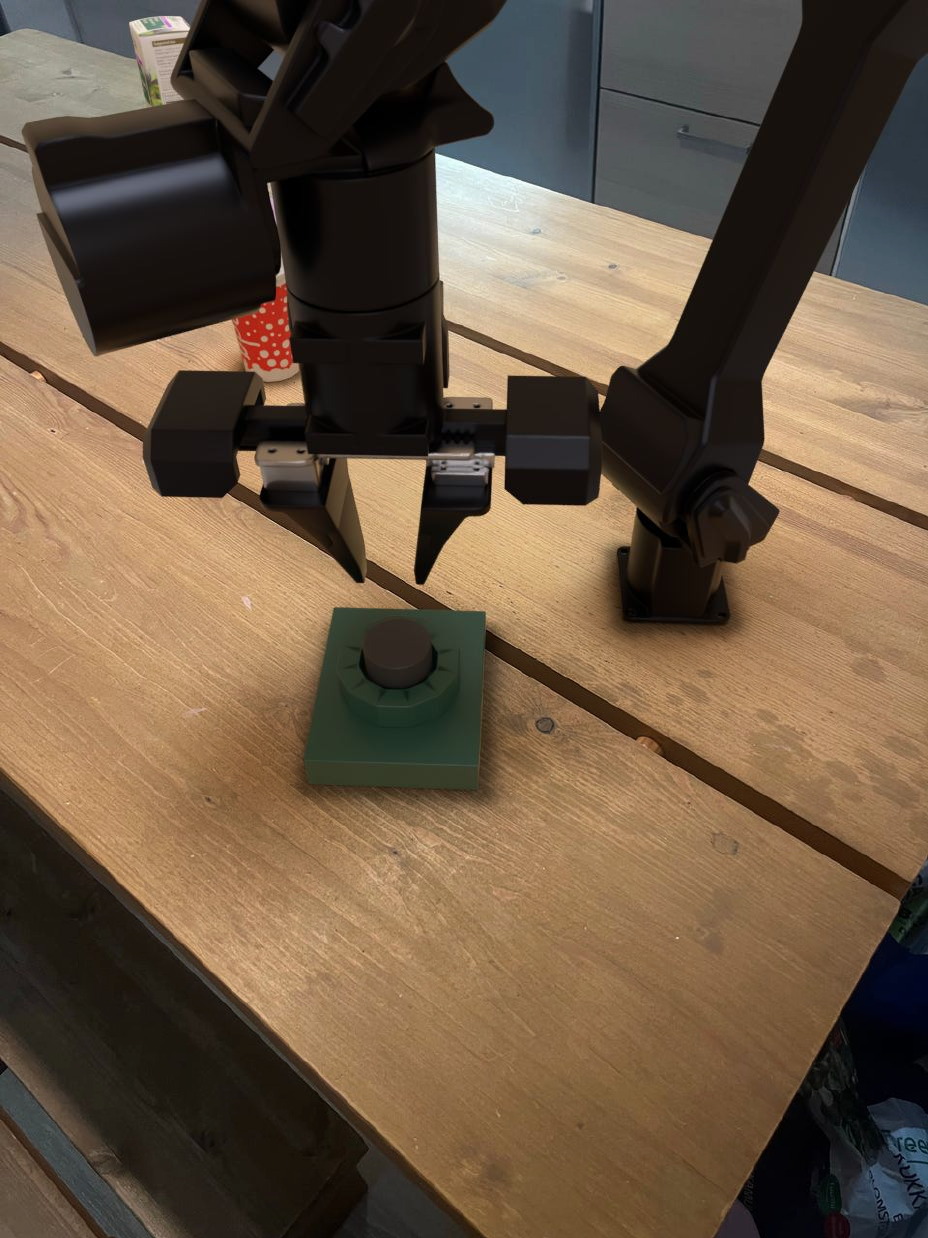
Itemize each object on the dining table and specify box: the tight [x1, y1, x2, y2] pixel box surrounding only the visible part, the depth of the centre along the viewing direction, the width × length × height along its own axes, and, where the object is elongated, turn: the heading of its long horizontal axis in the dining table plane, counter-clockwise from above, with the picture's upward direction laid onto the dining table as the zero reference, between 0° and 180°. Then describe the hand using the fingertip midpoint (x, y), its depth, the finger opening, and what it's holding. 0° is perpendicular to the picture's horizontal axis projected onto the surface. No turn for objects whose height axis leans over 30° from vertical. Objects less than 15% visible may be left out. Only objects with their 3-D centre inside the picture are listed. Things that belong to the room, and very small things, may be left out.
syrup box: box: [128, 15, 191, 108], centre depth 102 cm, size 6×6×14 cm
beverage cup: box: [231, 254, 300, 383], centre depth 74 cm, size 6×6×14 cm
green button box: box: [302, 606, 487, 791], centre depth 52 cm, size 11×9×4 cm
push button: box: [363, 618, 432, 689], centre depth 51 cm, size 4×4×2 cm
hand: (391, 577), depth 47 cm, fingers open, 3 cm apart
